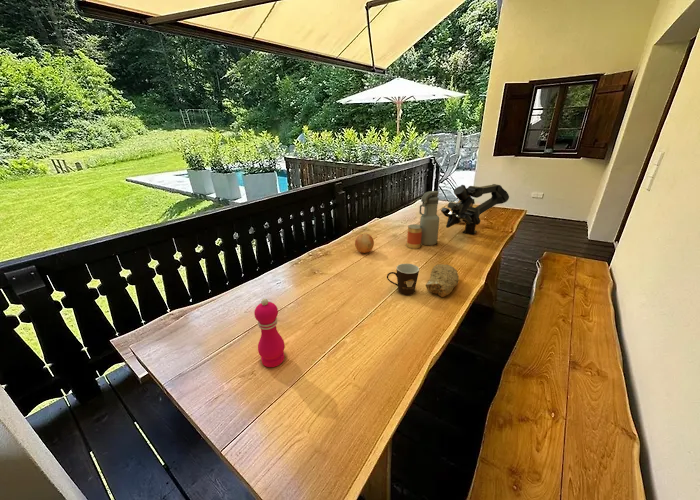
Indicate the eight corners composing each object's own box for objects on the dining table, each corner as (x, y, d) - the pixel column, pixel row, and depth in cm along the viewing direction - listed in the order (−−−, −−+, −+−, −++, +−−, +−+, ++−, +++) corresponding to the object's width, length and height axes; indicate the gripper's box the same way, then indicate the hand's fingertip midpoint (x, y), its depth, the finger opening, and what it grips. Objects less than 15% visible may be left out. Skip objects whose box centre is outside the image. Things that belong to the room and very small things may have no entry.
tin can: (410, 242, 166) (411, 223, 161) (423, 245, 161) (424, 225, 157) (404, 246, 160) (405, 227, 156) (417, 249, 156) (418, 229, 152)
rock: (450, 303, 112) (468, 273, 124) (447, 286, 108) (466, 257, 121) (418, 297, 120) (438, 270, 133) (414, 281, 117) (435, 255, 130)
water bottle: (425, 247, 159) (430, 194, 148) (414, 241, 167) (417, 191, 156) (440, 243, 163) (446, 192, 152) (429, 238, 171) (433, 189, 160)
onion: (364, 257, 148) (364, 238, 144) (350, 251, 155) (350, 233, 151) (377, 252, 154) (378, 233, 150) (364, 246, 161) (364, 229, 157)
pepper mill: (262, 351, 88) (253, 292, 80) (287, 349, 89) (280, 290, 81) (257, 369, 81) (246, 307, 74) (284, 367, 82) (276, 305, 74)
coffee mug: (418, 287, 120) (420, 265, 117) (415, 298, 113) (417, 274, 109) (390, 283, 124) (391, 261, 120) (385, 293, 117) (386, 270, 113)
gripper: (444, 193, 171) (428, 215, 171) (470, 200, 156) (452, 223, 156) (453, 205, 178) (437, 225, 177) (479, 212, 163) (462, 235, 162)
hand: (446, 227), depth 168 cm, fingers closed
